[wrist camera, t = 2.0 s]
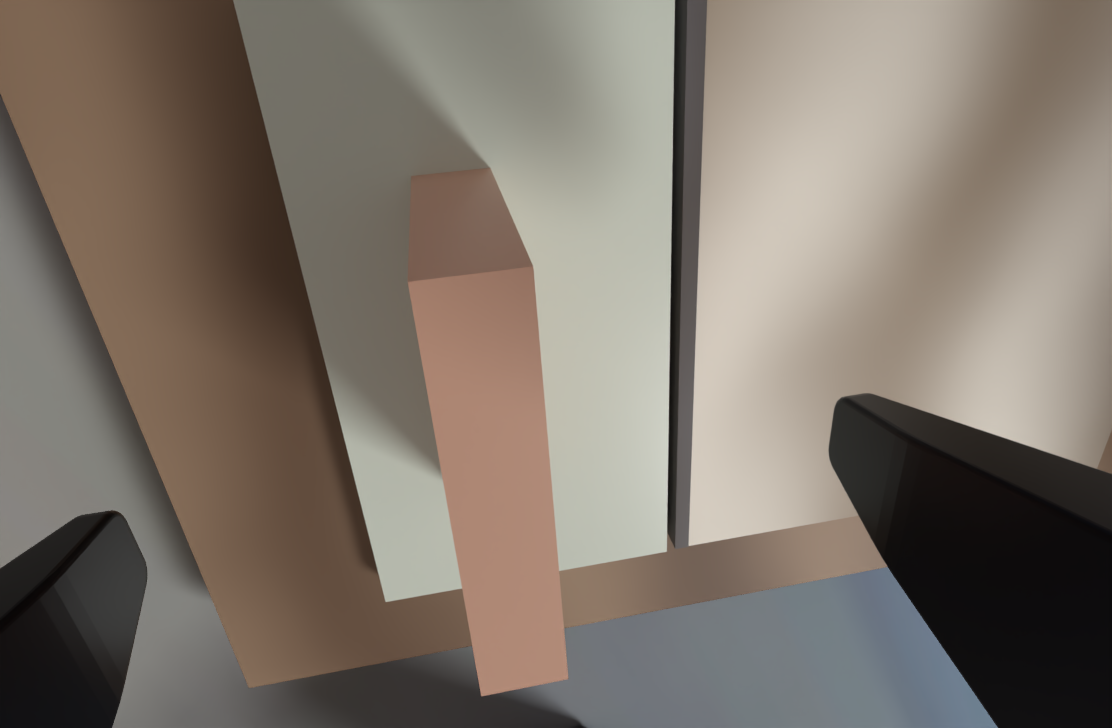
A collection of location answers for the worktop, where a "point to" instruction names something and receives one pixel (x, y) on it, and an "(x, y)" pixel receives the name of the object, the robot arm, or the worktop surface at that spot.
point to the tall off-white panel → (485, 285)
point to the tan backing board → (695, 305)
